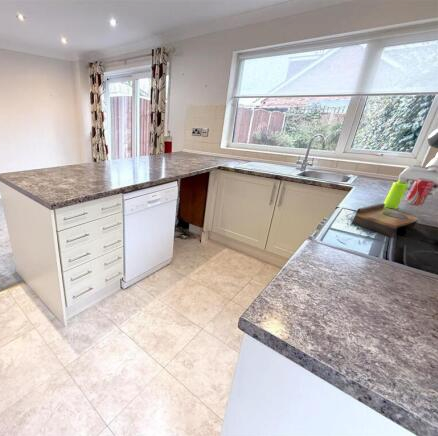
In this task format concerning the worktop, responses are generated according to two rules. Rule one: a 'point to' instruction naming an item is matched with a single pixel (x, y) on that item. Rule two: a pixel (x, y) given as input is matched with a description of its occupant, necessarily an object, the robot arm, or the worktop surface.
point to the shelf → (383, 219)
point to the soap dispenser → (395, 194)
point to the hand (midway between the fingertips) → (419, 191)
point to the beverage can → (419, 192)
